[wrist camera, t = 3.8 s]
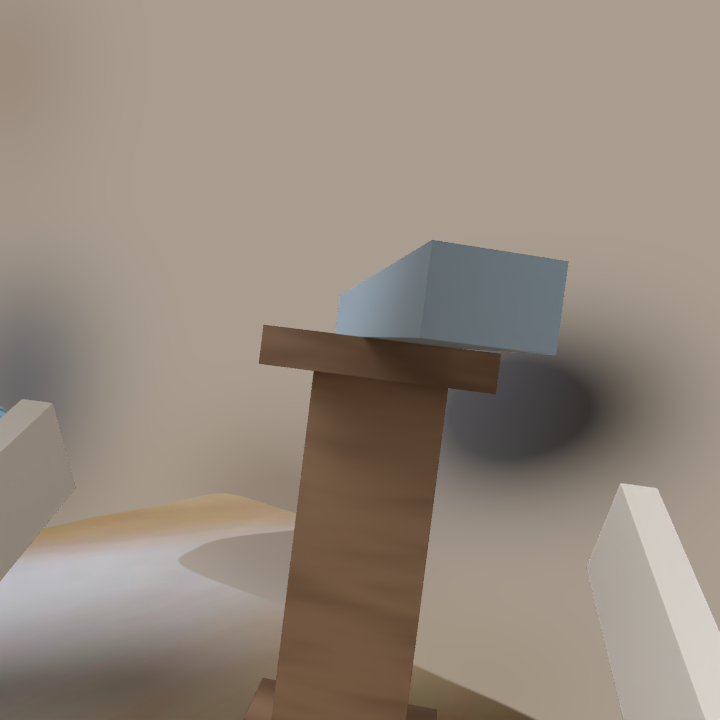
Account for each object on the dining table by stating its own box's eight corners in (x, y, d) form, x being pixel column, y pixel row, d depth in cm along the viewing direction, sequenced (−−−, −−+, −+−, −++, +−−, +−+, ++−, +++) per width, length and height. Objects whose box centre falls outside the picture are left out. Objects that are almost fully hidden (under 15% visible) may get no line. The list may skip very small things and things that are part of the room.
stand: (259, 702, 46) (304, 333, 45) (433, 734, 44) (482, 355, 44) (177, 889, 30) (244, 322, 29) (444, 949, 28) (521, 356, 28)
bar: (334, 336, 41) (340, 295, 41) (395, 344, 42) (400, 303, 42) (420, 337, 17) (432, 239, 17) (556, 355, 18) (568, 261, 18)
